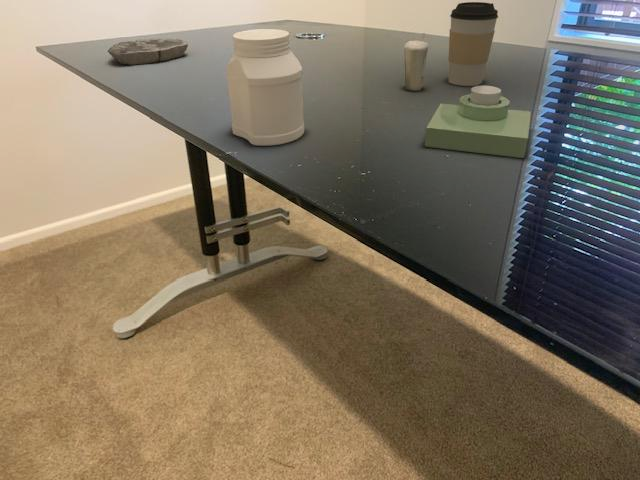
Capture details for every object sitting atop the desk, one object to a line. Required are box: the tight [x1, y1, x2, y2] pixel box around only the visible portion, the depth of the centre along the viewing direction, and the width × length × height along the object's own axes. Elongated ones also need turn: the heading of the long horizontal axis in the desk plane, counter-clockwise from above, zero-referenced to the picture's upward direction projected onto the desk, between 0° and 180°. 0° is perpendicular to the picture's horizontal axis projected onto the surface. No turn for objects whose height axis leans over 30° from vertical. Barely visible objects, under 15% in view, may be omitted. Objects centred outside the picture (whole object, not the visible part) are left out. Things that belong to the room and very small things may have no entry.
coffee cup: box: [448, 1, 499, 87], centre depth 101 cm, size 9×9×15 cm
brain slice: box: [107, 38, 189, 66], centre depth 129 cm, size 20×17×3 cm
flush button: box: [469, 85, 502, 106], centre depth 77 cm, size 4×4×2 cm
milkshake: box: [403, 32, 430, 92], centre depth 98 cm, size 4×5×10 cm
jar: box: [225, 28, 305, 147], centre depth 77 cm, size 12×10×15 cm
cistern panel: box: [424, 93, 532, 159], centre depth 76 cm, size 14×13×5 cm
